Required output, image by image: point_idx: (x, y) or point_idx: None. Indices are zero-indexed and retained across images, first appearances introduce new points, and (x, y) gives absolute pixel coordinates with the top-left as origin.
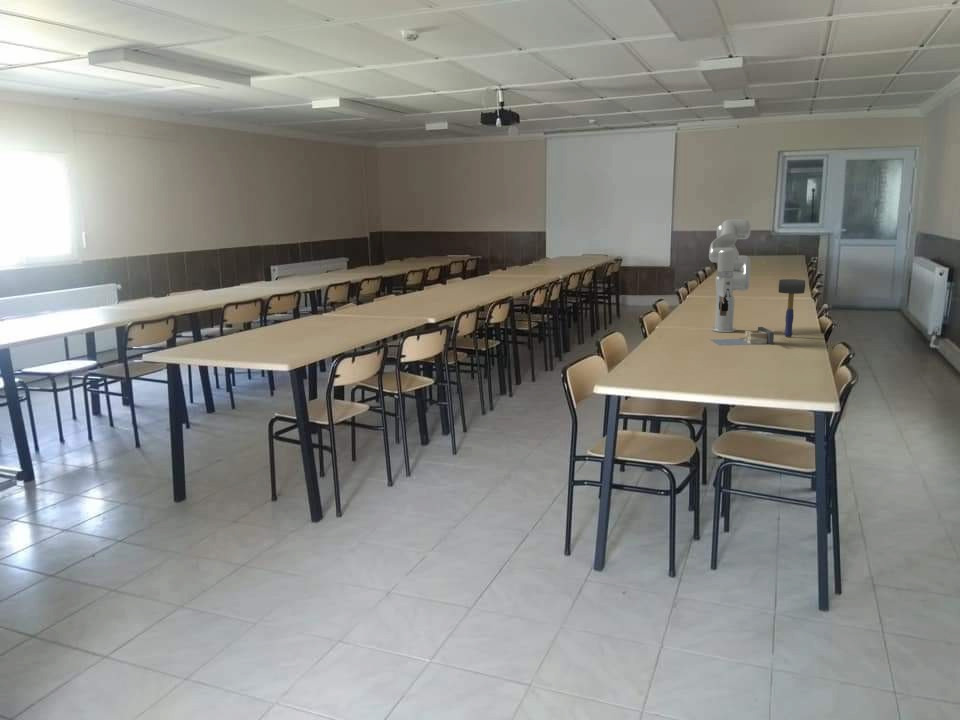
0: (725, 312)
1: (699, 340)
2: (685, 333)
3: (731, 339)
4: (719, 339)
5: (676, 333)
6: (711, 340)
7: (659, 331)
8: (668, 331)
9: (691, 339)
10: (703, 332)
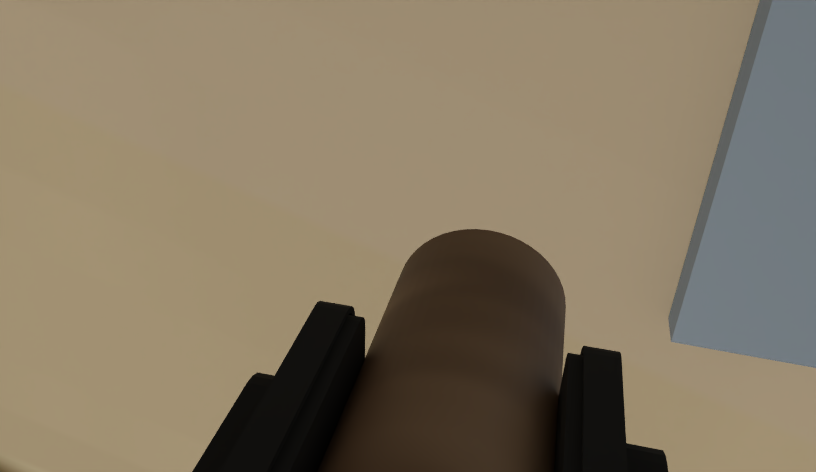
0: (560, 345)
1: None
2: (90, 295)
3: (789, 55)
4: (712, 226)
5: (98, 367)
6: (742, 349)
7: (18, 439)
8: (6, 380)
9: None
10: (5, 89)
